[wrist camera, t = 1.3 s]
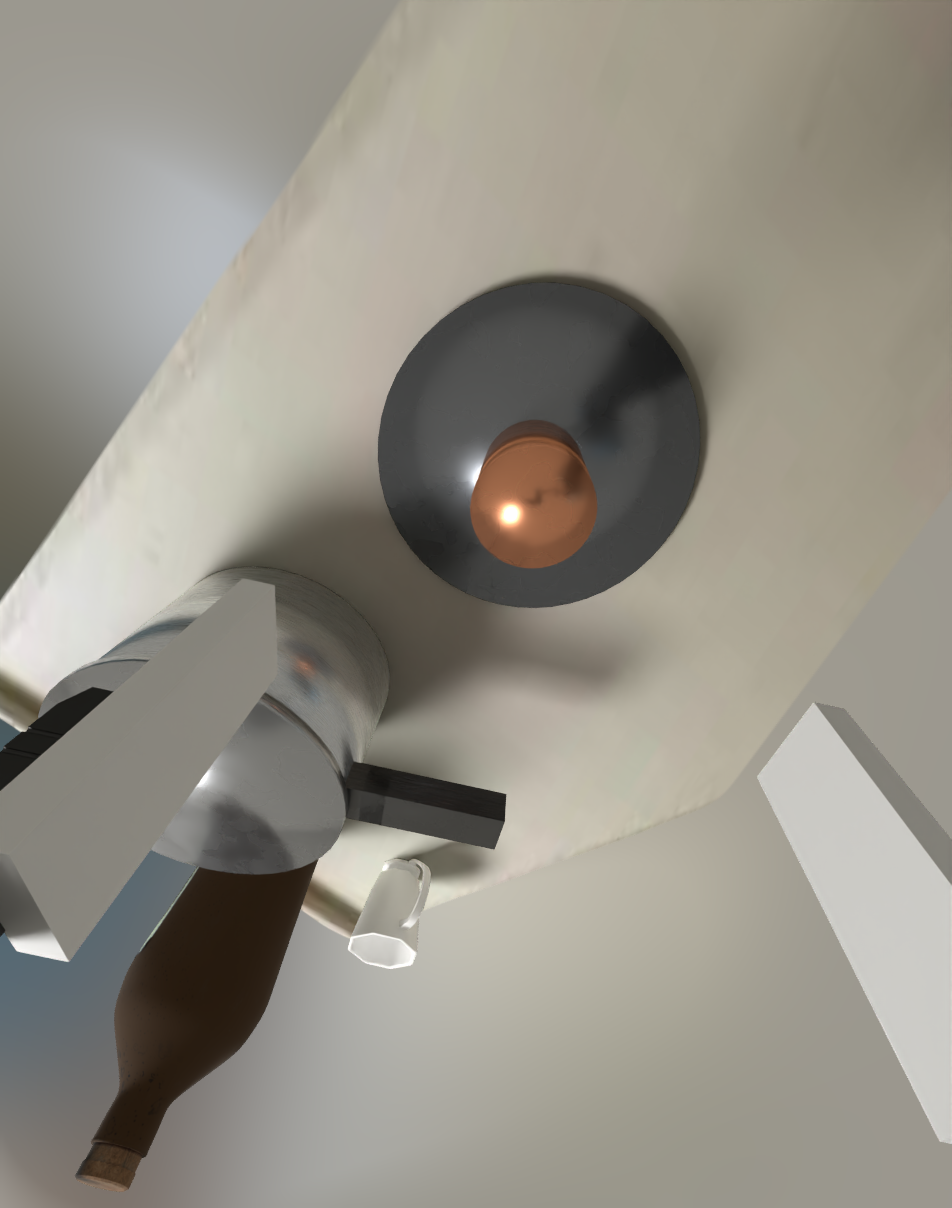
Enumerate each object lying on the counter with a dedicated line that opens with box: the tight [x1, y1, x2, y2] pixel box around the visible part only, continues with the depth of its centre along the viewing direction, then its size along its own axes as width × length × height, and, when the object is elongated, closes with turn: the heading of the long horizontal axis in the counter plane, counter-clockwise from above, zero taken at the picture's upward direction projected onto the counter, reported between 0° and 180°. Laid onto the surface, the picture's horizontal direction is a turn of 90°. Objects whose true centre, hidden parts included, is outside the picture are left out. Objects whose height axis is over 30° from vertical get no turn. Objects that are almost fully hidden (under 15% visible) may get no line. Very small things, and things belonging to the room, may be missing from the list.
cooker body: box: [38, 567, 506, 874], centre depth 34 cm, size 28×19×12 cm, turn 79°
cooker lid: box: [378, 283, 700, 608], centre depth 26 cm, size 19×19×8 cm
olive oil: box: [75, 859, 318, 1192], centre depth 39 cm, size 11×11×25 cm
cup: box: [348, 858, 431, 969], centre depth 49 cm, size 7×10×8 cm
